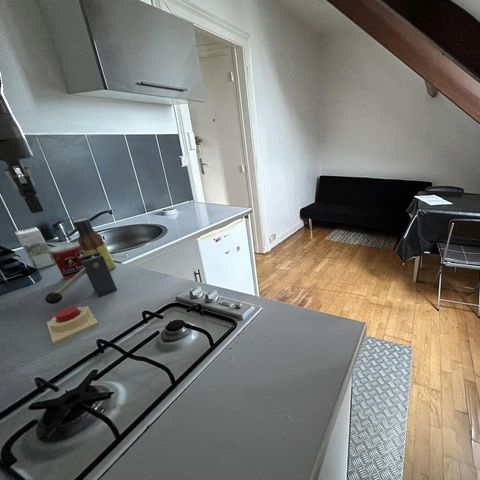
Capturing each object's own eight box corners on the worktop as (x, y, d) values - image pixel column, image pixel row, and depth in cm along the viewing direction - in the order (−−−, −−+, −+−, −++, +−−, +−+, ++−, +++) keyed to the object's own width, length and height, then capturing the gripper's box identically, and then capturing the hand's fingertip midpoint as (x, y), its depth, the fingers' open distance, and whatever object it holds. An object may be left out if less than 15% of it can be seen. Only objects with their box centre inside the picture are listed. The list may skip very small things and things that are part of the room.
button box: (50, 329, 65) (43, 316, 63) (90, 312, 70) (84, 299, 69) (57, 349, 58) (48, 335, 56) (101, 329, 63) (94, 316, 62)
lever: (55, 308, 68) (41, 302, 66) (53, 303, 70) (40, 298, 68) (104, 263, 74) (93, 256, 72) (101, 260, 76) (91, 253, 74)
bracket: (88, 310, 71) (67, 269, 66) (81, 298, 77) (62, 260, 72) (133, 291, 79) (118, 253, 74) (124, 282, 84) (110, 246, 79)
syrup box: (53, 260, 104) (35, 226, 98) (56, 264, 100) (39, 229, 95) (33, 266, 99) (13, 231, 94) (36, 270, 96) (16, 234, 91)
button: (56, 318, 62) (53, 312, 62) (78, 310, 65) (75, 304, 65) (59, 325, 60) (56, 319, 59) (81, 316, 63) (78, 310, 62)
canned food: (63, 283, 86) (48, 253, 81) (64, 275, 91) (50, 246, 87) (93, 274, 90) (80, 246, 86) (92, 267, 96) (79, 239, 92)
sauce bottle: (115, 267, 95) (94, 215, 87) (118, 272, 91) (96, 218, 83) (93, 274, 91) (68, 220, 83) (95, 280, 87) (69, 223, 79)
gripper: (-25, 139, 59) (14, 212, 66) (-28, 137, 51) (17, 220, 58) (22, 137, 65) (54, 205, 71) (26, 135, 57) (61, 211, 63)
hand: (37, 211), depth 65 cm, fingers closed
